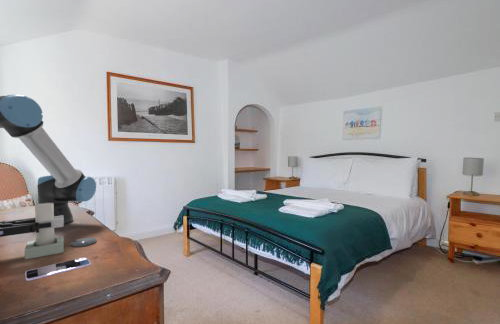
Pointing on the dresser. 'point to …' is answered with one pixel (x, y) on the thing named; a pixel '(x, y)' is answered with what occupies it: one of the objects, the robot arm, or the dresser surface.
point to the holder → (44, 248)
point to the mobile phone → (56, 268)
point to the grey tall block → (42, 214)
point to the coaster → (83, 242)
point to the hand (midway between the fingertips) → (63, 220)
